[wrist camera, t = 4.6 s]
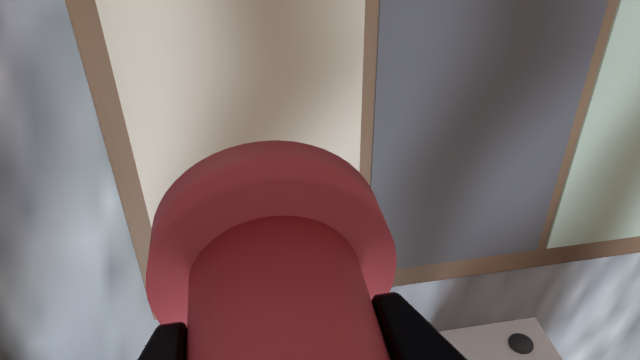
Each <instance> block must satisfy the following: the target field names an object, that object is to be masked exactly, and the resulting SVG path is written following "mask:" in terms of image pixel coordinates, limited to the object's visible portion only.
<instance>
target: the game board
mask: <svg viewBox="0 0 640 360" xmlns="http://www.w3.org/2000/svg"><path fill="white" fill-rule="evenodd" d="M65 2H66V6H67V9H68V13H69V17H70V20H71V24H72V27H73V31H74V35H75V38H76V42H77V45H78V49H79V52H80V56H81V60H82V63H83V67H84V70H85V74H86V78H87V81H88V85H89V88H90V92H91V96H92V99H93V103H94V106H95V110H96V113H97V117H98V121H99V124H100V128H101V131H102V135H103V139H104V142H105V146H106V149H107V153H108V156H109V160H110V164H111V167H112V171H113V174H114V178H115V182H116V185H117V189H118V192H119V196H120V200H121V203H122V207H123V210H124V214H125V217H126V221H127V225H128V228H129V232H130V235H131V239H132V243H133V246H134V250H135V253H136V257H137V261H138V264H139V268H140V271H141V275H142V278H143V282H144V286H145V289H146V269H147V261H148V253H149V246H150V238H151V230H152V224H153V219H154V215H155V213H156V210H157V208H158V205H159V203H160V201H161V200H162V198H163V196H164V194H165V193H166V191H167V190H168V189H169V188H170V186H171V185H172V184H173V183H174V181H176V180H177V179H178V178H179V177H180V176H181V175H182V174H183V173H184V172H185V171H186V170H188V169H189V168H191V167H192V166H193V165H195V164H196V163H197V162H199V161H201V160H203V159H205V158H206V157H208V156H210V155H212V154H214V153H217V152H219V151H222V150H224V149H227V148H230V147H233V146H237V145H241V144H245V143H251V142H258V141H272V140H281V141H294V142H300V143H305V144H310V145H313V146H316V147H319V148H322V149H325V150H327V151H329V152H331V153H334V154H336V155H338V156H339V157H341V158H342V159H344V160H345V161H347V162H348V163H350V164H351V165H352V166H353V167H354V168H355V169H357V170H358V171H359V172H360V173H361V175H362V176H363V177H364V178H365V180H366V181H367V182H368V184H369V186H370V187H371V189H372V191H373V193H374V195H375V197H376V200H377V202H378V204H379V207H380V209H381V211H382V214H383V216H384V218H385V221H386V223H387V225H388V228H389V230H390V233H391V235H392V238H393V241H394V243H395V249H396V255H397V267H396V272H395V278H394V281H393V284H392V287H393V286H400V285H407V284H415V283H422V282H429V281H436V280H443V279H451V278H458V277H465V276H472V275H479V274H487V273H494V272H501V271H508V270H515V269H523V268H530V267H537V266H544V265H551V264H559V263H566V262H573V261H580V260H587V259H595V258H602V257H609V256H616V255H623V254H631V253H638V252H640V0H65ZM151 311H152V309H151ZM152 314H153V318H154V320H156V319H157V318H156V317H155V315H154V313H153V312H152Z"/></svg>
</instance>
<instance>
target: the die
mask: <svg viewBox="0 0 640 360" xmlns="http://www.w3.org/2000/svg"><path fill="white" fill-rule="evenodd" d="M439 333H440V334H441V335H442V336H443V337H444V338H446V339H447V340H448V341H449V342H450V343H451V344H452V345H453V346H454V347H455V348H456V349H457V350H458V351H459V352H460V353H461V354H462V355H463V356H464V357H465V358H466V359H467V360H562V358H561V356H560V355H559V353H558V352H557V350H556V349H555V347H554V345H553V344H552V342H551V341H550V339H549V338H548V336H547V334H546V333H545V331H544V330H543V328H542V327H541V325H540V323H539V322H538V320H537V319H536V317H532V318H525V319H519V320H512V321H506V322H499V323H492V324H486V325H479V326H472V327H466V328H459V329H452V330H446V331H439Z"/></svg>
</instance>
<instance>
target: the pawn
mask: <svg viewBox="0 0 640 360" xmlns="http://www.w3.org/2000/svg"><path fill="white" fill-rule="evenodd" d="M396 267H397V255H396V249H395V243H394V241H393V238H392V235H391V233H390V230H389V228H388V225H387V223H386V221H385V218H384V216H383V214H382V211H381V209H380V207H379V204H378V202H377V200H376V197H375V195H374V193H373V191H372V189H371V187H370V186H369V184H368V182H367V181H366V180H365V178H364V177H363V176H362V175H361V173H360V172H359V171H358V170H357V169H355V168H354V167H353V166H352V165H351V164H350V163H348V162H347V161H345V160H344V159H342V158H341V157H339V156H338V155H336V154H334V153H331V152H329V151H327V150H325V149H322V148H319V147H316V146H313V145H310V144H305V143H300V142H294V141H281V140H272V141H258V142H251V143H245V144H241V145H237V146H233V147H230V148H227V149H224V150H222V151H219V152H217V153H214V154H212V155H210V156H208V157H206V158H205V159H203V160H201V161H199V162H197V163H196V164H195V165H193V166H192V167H191V168H189V169H188V170H186V171H185V172H184V173H183V174H182V175H181V176H180V177H179V178H178V179H177V180H176V181H174V183H173V184H172V185H171V186H170V188H169V189H168V190H167V191H166V193H165V194H164V196H163V198H162V200H161V201H160V203H159V205H158V208H157V210H156V213H155V215H154V219H153V224H152V230H151V238H150V246H149V253H148V261H147V269H146V293H147V298H148V302H149V304H150V307H151V309H152V312H153V313H154V315H155V317H156V318H157V320H158V322H159V323H160V324H166V323H174V322H184V323H185V324H186V327H187V343H186V360H391V358H390V355H389V352H388V349H387V346H386V343H385V340H384V337H383V334H382V331H381V328H380V325H379V322H378V319H377V316H376V313H375V310H374V307H373V304H372V298H373V296H374V295H376V294H383V293H389V291H390V289H391V287H392V284H393V281H394V278H395V272H396Z"/></svg>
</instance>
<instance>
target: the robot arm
mask: <svg viewBox="0 0 640 360" xmlns="http://www.w3.org/2000/svg"><path fill="white" fill-rule="evenodd" d="M372 304H373V307H374V310H375V313H376V316H377V319H378V322H379V325H380V328H381V331H382V334H383V337H384V340H385V343H386V346H387V349H388V352H389V355H390V358H391V360H467V359H466V358H465V357H464V356H463V355H462V354H461V353H460V352H459V351H458V350H457V349H456V348H455V347H454V346H453V345H452V344H451V343H450V342H449V341H448V340H447V339H446V338H444V337H443V336H442V335H441V334H440V333H439V332H438V331H437V330H436V329H435V328H434V327H433V326H432V325H431V324H430V323H429V322H428V321H427V320H426V319H425V318H424V317H423V316H422V315H421V314H419V313H418V312H417V311H416V310H415V309H414V308H413V307H412V306H411V305H410V304H409V303H408V302H407V301H406V300H405V299H404V298H403V297H402V296H401V295H400V294H398V293H396V292H391V293H383V294H376V295H374V296H373V298H372ZM186 343H187V327H186V324H185V323H184V322H174V323H166V324H161V325H159V326H158V327H157V328H156V329H155V331H154V333H153V334H152V336H151V338H150V339H149V341H148V343H147V344H146V346H145V348H144V350H143V351H142V353H141V355H140V356H139V358H138V360H186Z"/></svg>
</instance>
